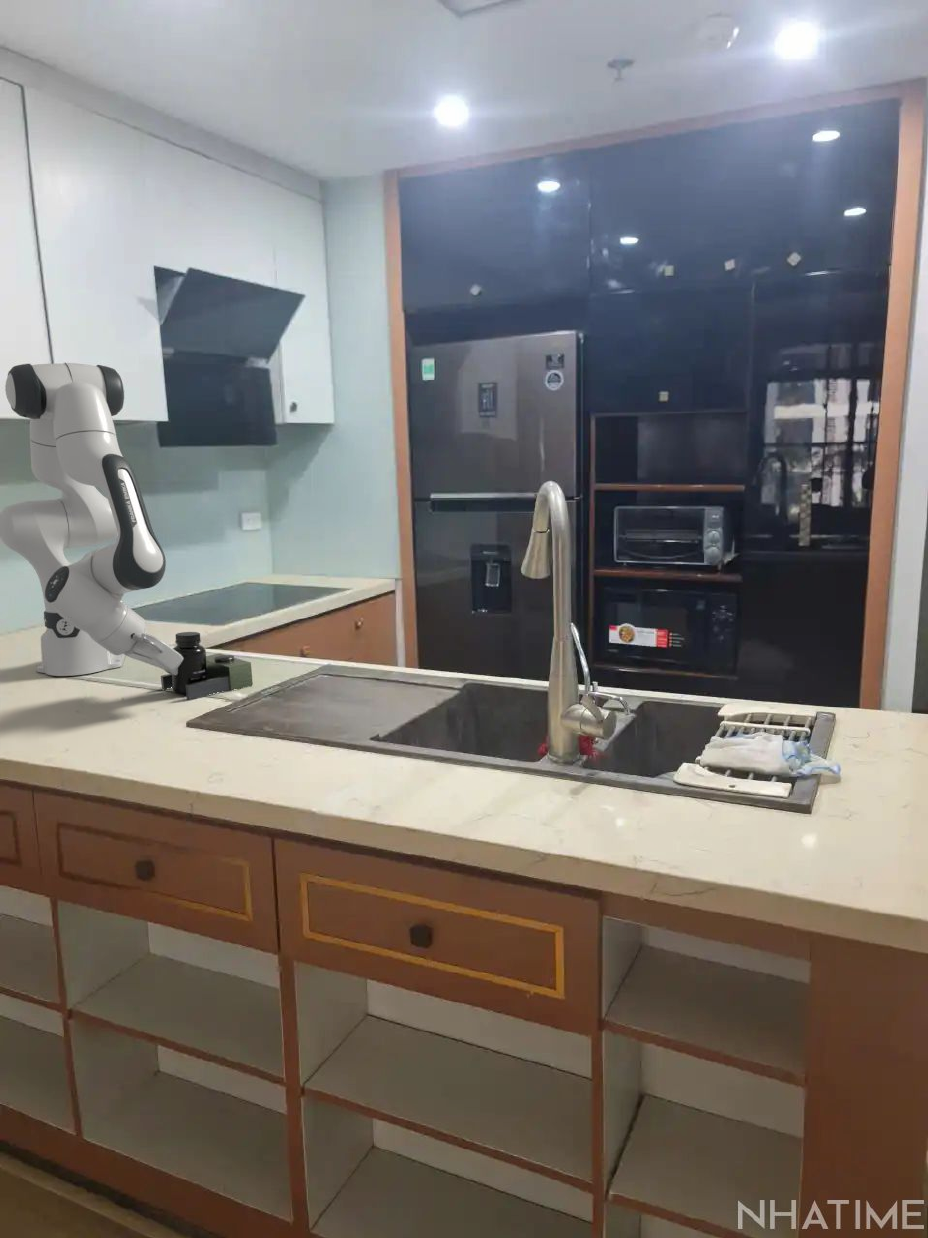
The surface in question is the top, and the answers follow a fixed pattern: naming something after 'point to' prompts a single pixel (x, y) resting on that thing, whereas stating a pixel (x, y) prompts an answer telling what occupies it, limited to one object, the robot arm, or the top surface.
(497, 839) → the top surface
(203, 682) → the chute bracket
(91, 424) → the robot arm
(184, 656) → the supplement bottle
